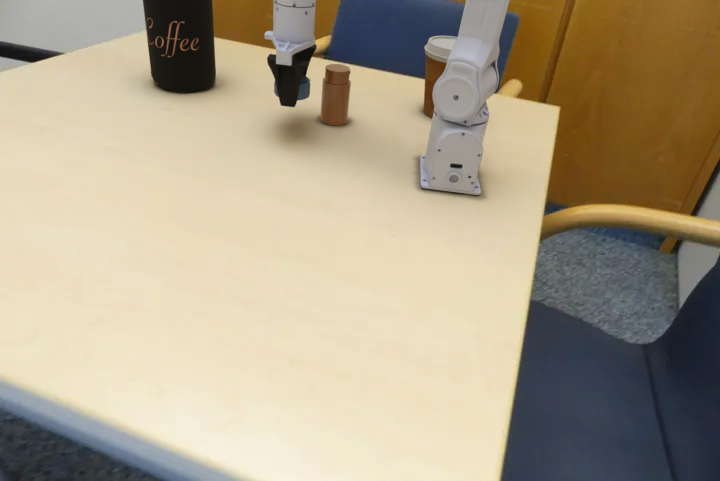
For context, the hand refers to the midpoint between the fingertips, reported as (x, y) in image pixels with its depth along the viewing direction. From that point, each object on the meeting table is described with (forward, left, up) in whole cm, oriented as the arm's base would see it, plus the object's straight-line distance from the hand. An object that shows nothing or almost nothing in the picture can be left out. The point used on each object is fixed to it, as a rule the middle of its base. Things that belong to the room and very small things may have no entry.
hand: (291, 99), depth 83 cm
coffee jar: (+13, +21, -5) cm, 25 cm away
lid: (0, 0, +3) cm, 3 cm away
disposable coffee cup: (+14, -24, -5) cm, 28 cm away
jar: (+5, -6, -5) cm, 9 cm away
